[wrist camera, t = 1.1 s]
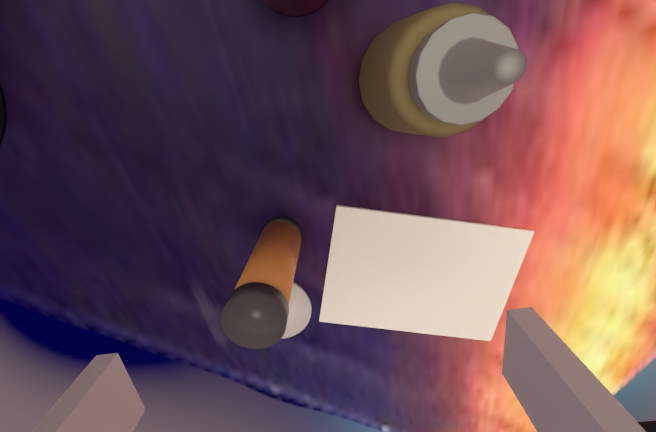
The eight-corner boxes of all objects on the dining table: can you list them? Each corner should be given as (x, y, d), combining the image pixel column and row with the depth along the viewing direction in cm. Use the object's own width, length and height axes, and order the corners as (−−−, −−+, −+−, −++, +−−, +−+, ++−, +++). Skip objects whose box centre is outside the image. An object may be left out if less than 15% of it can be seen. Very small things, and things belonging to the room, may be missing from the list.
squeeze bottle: (467, 47, 27) (689, -20, 10) (424, 140, 30) (545, 208, 13) (376, 10, 26) (458, -131, 9) (341, 110, 29) (356, 140, 12)
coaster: (239, 331, 38) (238, 334, 37) (241, 272, 35) (240, 275, 34) (307, 338, 38) (307, 342, 38) (315, 280, 35) (315, 284, 35)
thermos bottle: (261, 250, 34) (220, 345, 22) (263, 213, 33) (220, 292, 20) (300, 255, 34) (283, 352, 22) (305, 218, 33) (288, 299, 20)
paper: (319, 319, 37) (319, 321, 37) (336, 204, 32) (336, 206, 32) (489, 338, 38) (490, 341, 38) (532, 229, 33) (534, 231, 33)
